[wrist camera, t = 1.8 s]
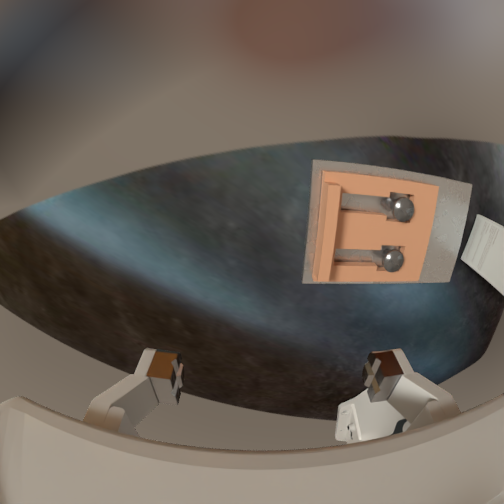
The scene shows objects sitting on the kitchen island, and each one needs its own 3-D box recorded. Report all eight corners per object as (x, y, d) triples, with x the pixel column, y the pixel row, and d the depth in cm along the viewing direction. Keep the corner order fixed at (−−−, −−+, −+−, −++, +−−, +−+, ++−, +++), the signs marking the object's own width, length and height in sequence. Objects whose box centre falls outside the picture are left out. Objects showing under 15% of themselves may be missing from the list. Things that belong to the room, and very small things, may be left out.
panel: (414, 277, 31) (424, 288, 28) (312, 277, 31) (316, 289, 28) (434, 184, 26) (447, 190, 23) (322, 170, 26) (329, 174, 24)
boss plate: (445, 278, 32) (456, 289, 29) (301, 279, 33) (304, 293, 30) (467, 183, 27) (482, 188, 24) (311, 158, 27) (317, 161, 24)
